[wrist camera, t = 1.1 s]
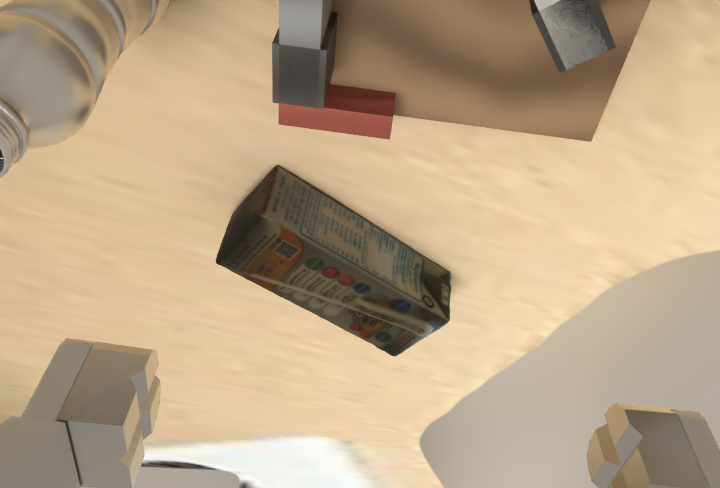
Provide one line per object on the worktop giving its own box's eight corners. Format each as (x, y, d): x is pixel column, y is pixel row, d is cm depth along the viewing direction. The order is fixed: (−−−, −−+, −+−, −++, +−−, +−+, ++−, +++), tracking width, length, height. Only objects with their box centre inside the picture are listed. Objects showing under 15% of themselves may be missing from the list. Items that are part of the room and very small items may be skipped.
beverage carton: (398, 311, 63) (393, 367, 58) (227, 212, 56) (206, 267, 51) (453, 270, 58) (454, 328, 54) (274, 157, 51) (256, 211, 47)
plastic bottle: (193, -66, 40) (47, 116, 25) (171, 28, 44) (38, 227, 30) (87, -114, 38) (-129, 49, 24) (76, -12, 43) (-110, 176, 29)
